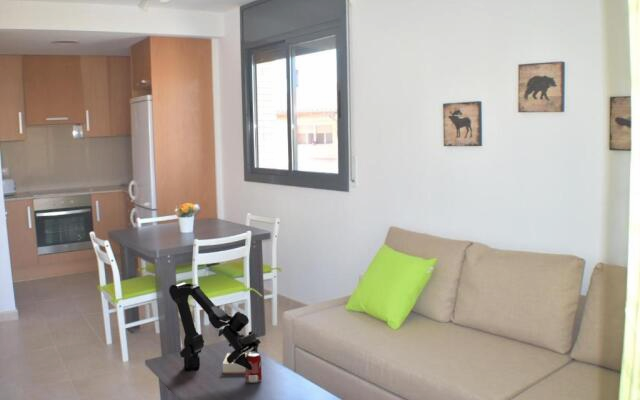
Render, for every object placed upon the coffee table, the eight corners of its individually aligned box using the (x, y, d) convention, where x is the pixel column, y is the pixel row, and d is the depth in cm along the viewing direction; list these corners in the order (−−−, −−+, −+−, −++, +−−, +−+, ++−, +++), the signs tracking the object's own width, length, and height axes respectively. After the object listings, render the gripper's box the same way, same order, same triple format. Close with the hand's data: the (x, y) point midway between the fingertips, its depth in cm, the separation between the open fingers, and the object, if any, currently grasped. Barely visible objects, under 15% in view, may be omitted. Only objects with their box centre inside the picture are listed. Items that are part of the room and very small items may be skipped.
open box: (222, 373, 259) (222, 363, 258) (227, 362, 271) (227, 353, 271) (250, 373, 259) (250, 363, 258) (254, 362, 271) (254, 352, 270)
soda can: (258, 384, 246) (258, 357, 245) (243, 383, 248) (242, 356, 246) (263, 378, 253) (263, 351, 252) (248, 377, 254) (248, 350, 253)
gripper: (231, 333, 241) (255, 363, 238) (256, 320, 258) (278, 348, 254) (216, 348, 246) (239, 378, 242) (242, 335, 262) (263, 363, 258)
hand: (256, 366), depth 249 cm, fingers closed on soda can, 6 cm apart
